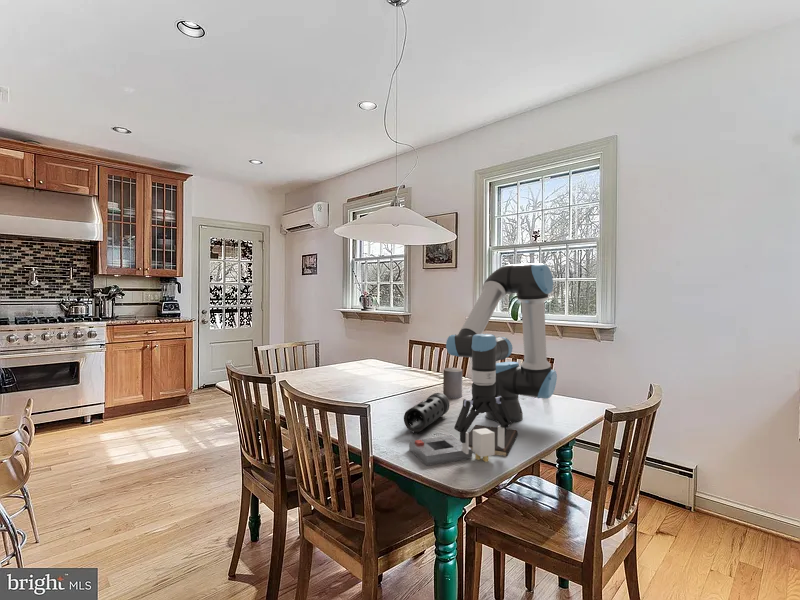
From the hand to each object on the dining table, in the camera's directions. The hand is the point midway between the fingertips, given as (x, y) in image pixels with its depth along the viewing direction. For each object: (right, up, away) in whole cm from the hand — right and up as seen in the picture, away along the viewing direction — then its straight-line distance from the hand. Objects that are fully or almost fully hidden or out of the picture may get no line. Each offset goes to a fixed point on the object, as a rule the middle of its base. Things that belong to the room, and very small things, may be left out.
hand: (483, 449), depth 138 cm
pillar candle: (0, -1, +82) cm, 82 cm away
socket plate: (-14, -3, +4) cm, 15 cm away
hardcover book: (+5, -3, +16) cm, 18 cm away
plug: (0, -3, 0) cm, 3 cm away
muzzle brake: (-15, -3, +36) cm, 39 cm away
